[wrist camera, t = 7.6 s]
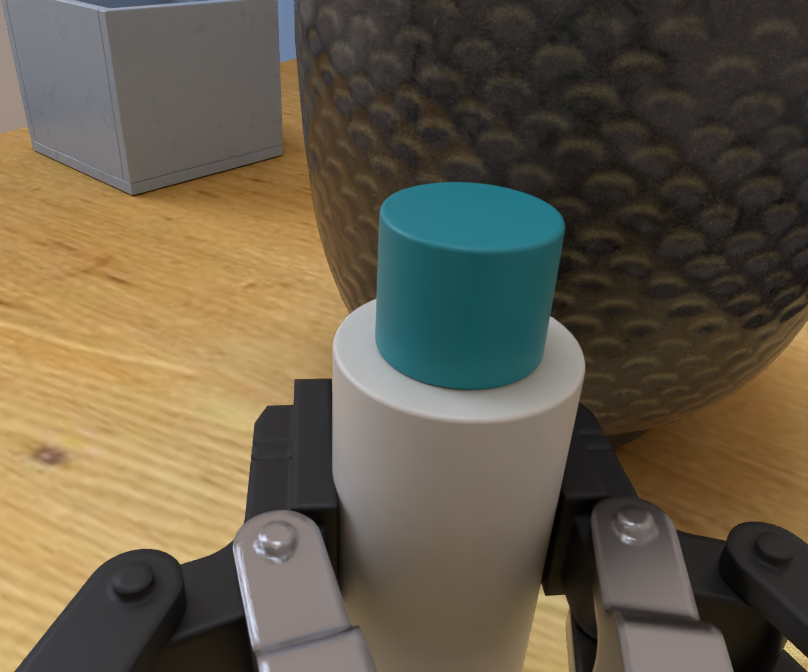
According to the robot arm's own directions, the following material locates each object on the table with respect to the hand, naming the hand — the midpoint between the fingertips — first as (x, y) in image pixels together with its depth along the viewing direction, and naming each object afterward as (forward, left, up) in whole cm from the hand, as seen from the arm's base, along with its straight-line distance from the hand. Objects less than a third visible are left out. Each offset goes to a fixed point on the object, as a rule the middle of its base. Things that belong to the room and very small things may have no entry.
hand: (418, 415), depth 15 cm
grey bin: (-6, +39, -7) cm, 40 cm away
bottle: (0, -3, -7) cm, 7 cm away
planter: (+8, +10, -7) cm, 14 cm away
